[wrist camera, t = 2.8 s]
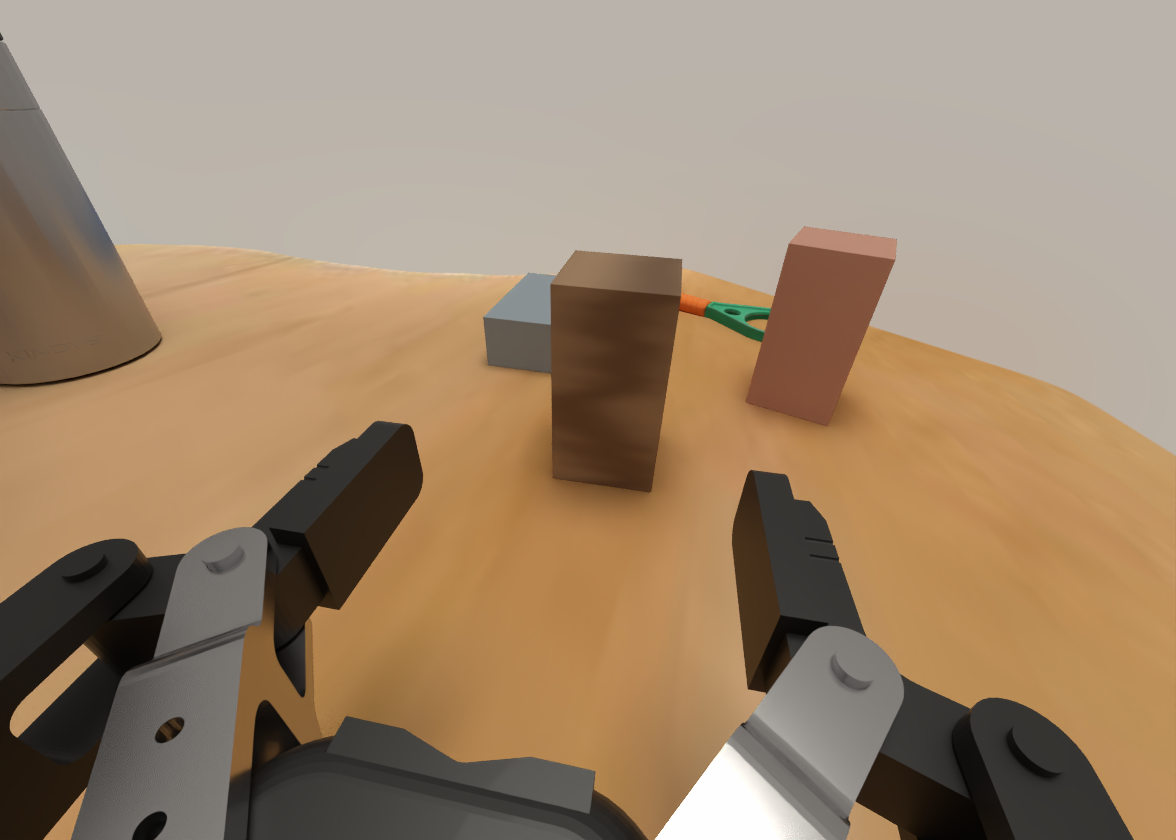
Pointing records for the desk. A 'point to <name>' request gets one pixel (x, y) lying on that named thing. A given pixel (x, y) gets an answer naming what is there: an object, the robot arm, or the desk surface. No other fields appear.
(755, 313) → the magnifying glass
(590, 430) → the walnut block
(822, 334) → the brick-red block
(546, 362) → the slate base block
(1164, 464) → the desk surface
